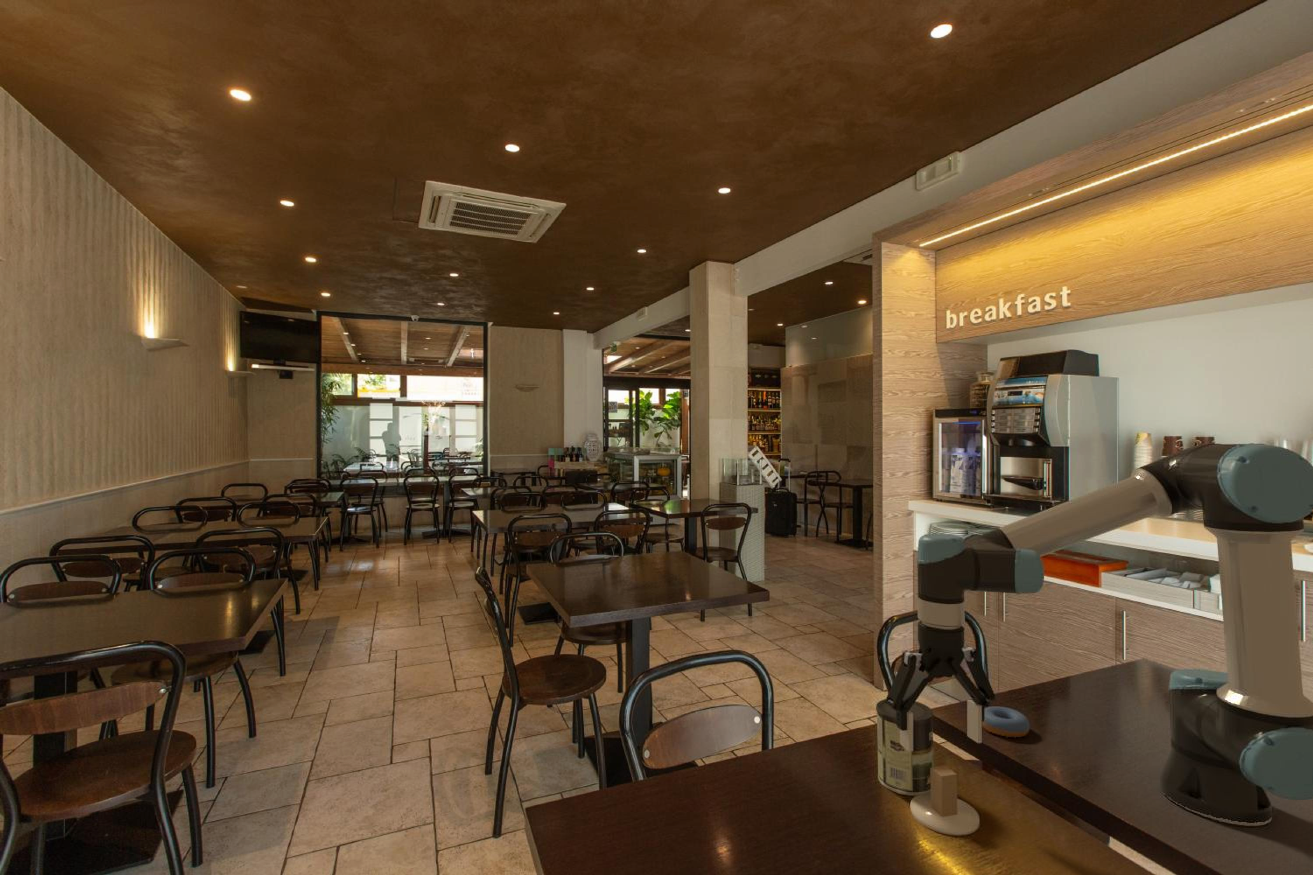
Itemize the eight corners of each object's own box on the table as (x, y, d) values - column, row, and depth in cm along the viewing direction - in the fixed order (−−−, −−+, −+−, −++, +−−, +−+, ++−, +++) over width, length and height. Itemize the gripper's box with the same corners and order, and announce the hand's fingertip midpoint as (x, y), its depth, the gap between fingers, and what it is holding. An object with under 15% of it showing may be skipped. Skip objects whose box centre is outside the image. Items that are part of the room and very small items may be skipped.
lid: (950, 794, 116) (949, 751, 116) (994, 830, 105) (993, 783, 105) (897, 802, 114) (896, 759, 114) (937, 840, 103) (936, 792, 103)
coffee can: (927, 769, 124) (926, 699, 124) (940, 799, 114) (939, 722, 114) (873, 765, 126) (872, 695, 126) (881, 793, 116) (880, 718, 116)
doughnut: (1041, 735, 137) (1038, 714, 138) (1005, 744, 135) (1002, 722, 135) (1006, 720, 147) (1003, 700, 147) (970, 728, 144) (968, 708, 145)
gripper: (986, 612, 116) (986, 726, 116) (865, 621, 111) (865, 740, 110) (1017, 624, 108) (1017, 746, 108) (889, 634, 103) (889, 761, 103)
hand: (940, 743), depth 109 cm, fingers open, 13 cm apart
